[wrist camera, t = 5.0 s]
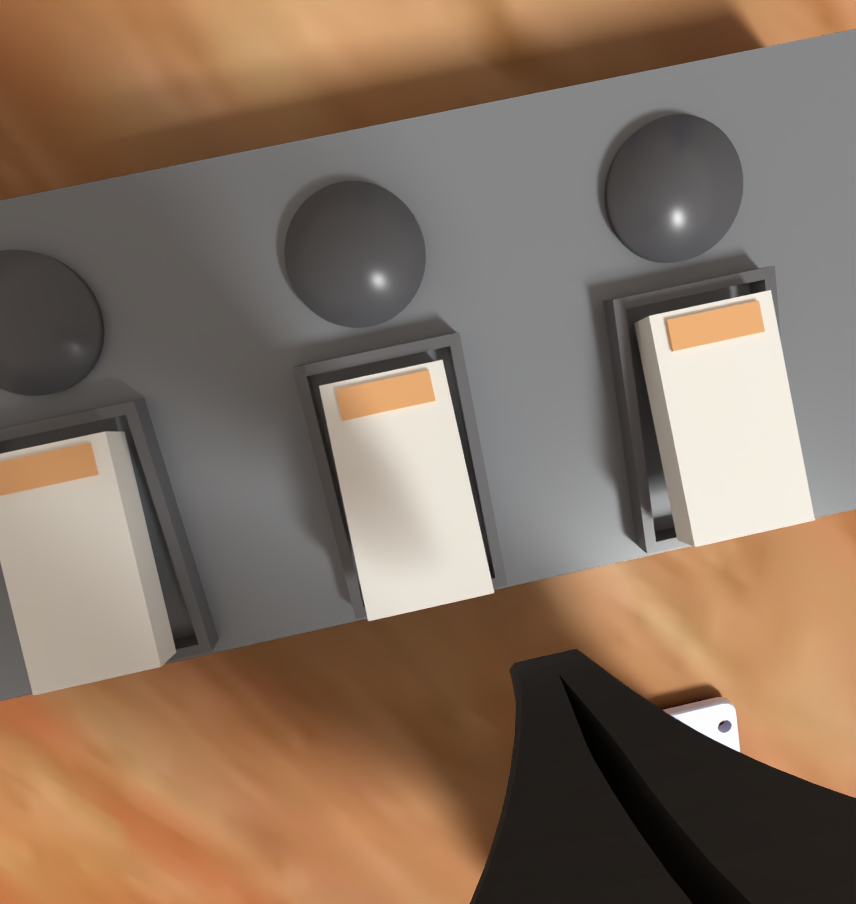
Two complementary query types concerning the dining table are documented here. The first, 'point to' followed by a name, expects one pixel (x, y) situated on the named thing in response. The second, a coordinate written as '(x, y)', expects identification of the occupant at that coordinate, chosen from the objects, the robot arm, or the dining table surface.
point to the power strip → (433, 320)
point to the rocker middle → (406, 490)
